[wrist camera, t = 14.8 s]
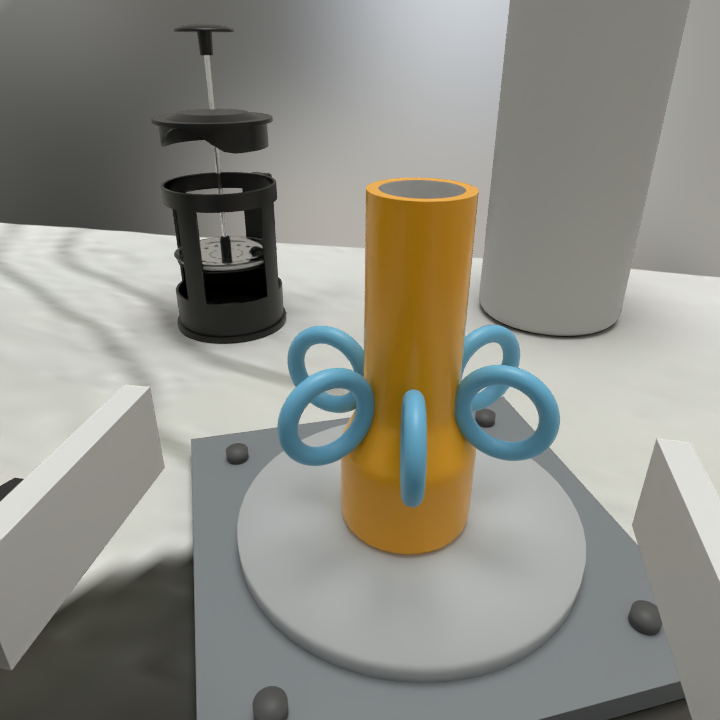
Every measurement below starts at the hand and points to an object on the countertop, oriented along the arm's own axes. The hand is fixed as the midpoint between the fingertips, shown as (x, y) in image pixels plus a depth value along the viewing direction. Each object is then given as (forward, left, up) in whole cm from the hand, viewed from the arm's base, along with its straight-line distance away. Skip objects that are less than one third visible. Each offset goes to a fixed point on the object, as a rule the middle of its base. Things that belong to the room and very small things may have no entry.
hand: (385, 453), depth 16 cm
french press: (-2, +38, -12) cm, 40 cm away
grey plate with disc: (+4, +8, -12) cm, 15 cm away
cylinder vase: (+26, +33, -12) cm, 44 cm away
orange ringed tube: (+4, +8, -10) cm, 14 cm away
